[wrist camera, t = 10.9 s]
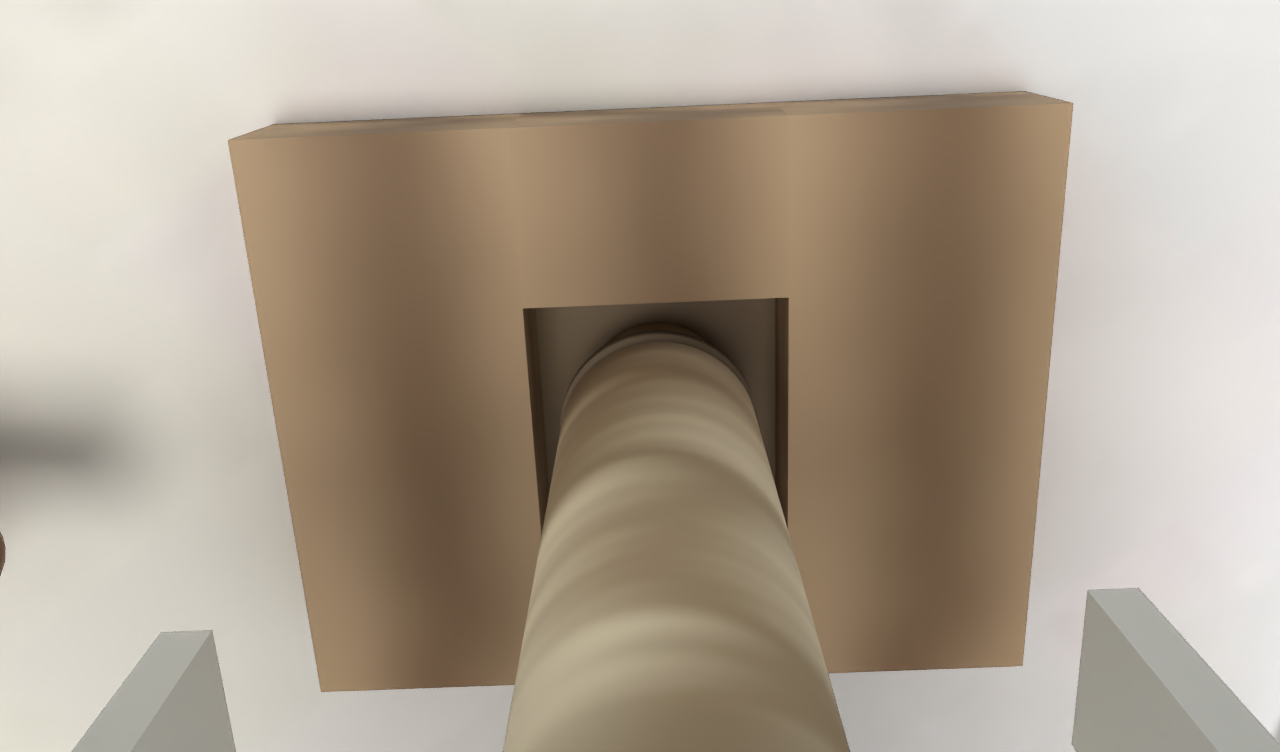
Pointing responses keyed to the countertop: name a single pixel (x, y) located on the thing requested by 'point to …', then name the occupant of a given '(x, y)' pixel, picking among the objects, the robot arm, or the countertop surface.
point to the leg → (667, 571)
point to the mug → (2, 553)
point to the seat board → (662, 293)
